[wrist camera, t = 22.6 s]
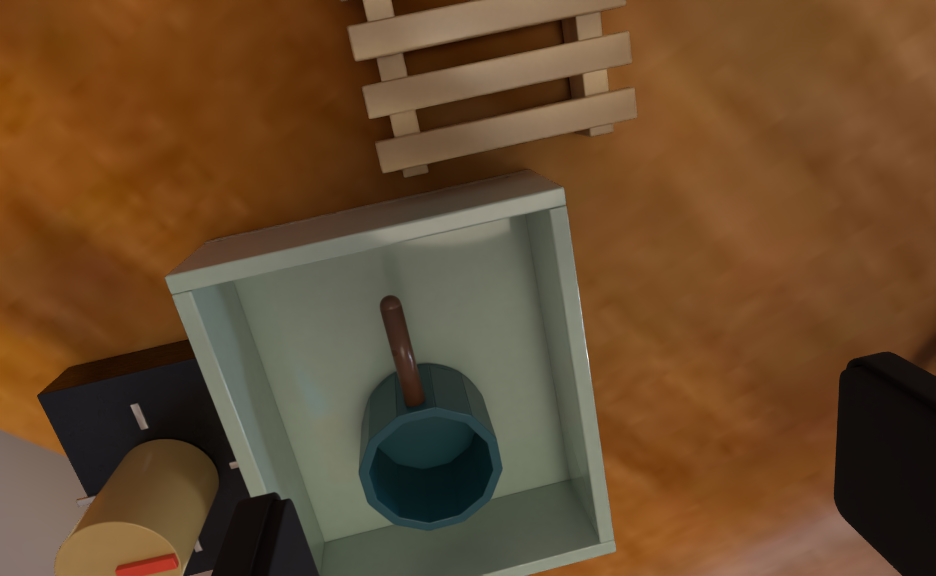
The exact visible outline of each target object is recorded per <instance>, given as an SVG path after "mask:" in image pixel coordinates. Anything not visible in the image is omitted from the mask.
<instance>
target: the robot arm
mask: <svg viewBox="0 0 936 576" xmlns="http://www.w3.org/2000/svg"><path fill="white" fill-rule="evenodd" d="M834 500H835V504H836V506H837V509H838V511H839V512H840V514H841V515H842V517H843V518H844V519H845V520H846V521H847V522H848V523H849V524H850V525H851V526H852V527H853V528H854V529H855V530H856V531H857V532H858V533H859V534H860V535H861V536H862V537H863V538H864V539H865V540H866V541H867V542H868V543H869V544H870V545H871V546H872V547H874V548H875V549H876V550H877V551H878V552H879V553H880V554H881V555H882V556H883V557H884V558H885V559H886V560H887V561H888V562H889V563H890V564H891V565H892V566H893V567H894V568H895V569H896V570H897V571H898V572H899V573H900V574H901V575H902V576H936V376H934V375H932V374H931V373H929V372H927V371H925V370H923V369H922V368H920V367H918V366H916V365H914V364H913V363H911V362H909V361H907V360H905V359H903V358H902V357H900V356H898V355H896V354H894V353H891V352H881V353H877V354H872V355H868V356H864V357H859V358H855V359H853V360H851V361H850V362H849V363H848V365H847V368H846V370H844V371H842V373H841V375H840V380H839V401H838V421H837V442H836V462H835V483H834ZM211 576H319V573H318V570H317V567H316V564H315V562H314V559H313V556H312V553H311V550H310V548H309V545H308V542H307V539H306V536H305V534H304V531H303V528H302V525H301V522H300V520H299V517H298V514H297V511H296V508H295V506H294V503H293V501H292V500H291V499H290V498H288V499H283V500H281V497H280V496H279V494H278V493H276V492H272V493H268V494H264V495H259V496H255V497H251V498H246V499H242V500H240V501H239V502H238V503H237V505H236V508H235V510H234V513H233V516H232V519H231V522H230V524H229V527H228V530H227V533H226V536H225V538H224V541H223V544H222V547H221V550H220V552H219V555H218V558H217V561H216V564H215V566H214V569H213V572H212V575H211Z"/></svg>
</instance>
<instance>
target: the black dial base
mask: <svg viewBox="0 0 936 576" xmlns="http://www.w3.org/2000/svg"><path fill="white" fill-rule="evenodd" d="M37 397H38V399H39V401H40V403H41V405H42V407H43V409H44V411H45V413H46V415H47V417H48V419H49V421H50V423H51V425H52V427H53V429H54V431H55V433H56V435H57V437H58V439H59V441H60V443H61V445H62V446H63V448H64V450H65V452H66V454H67V456H68V458H69V460H70V462H71V464H72V466H73V468H74V470H75V472H76V474H77V476H78V478H79V480H80V482H81V484H82V486H83V488H84V490H85V492H86V494H87V496H88V497H84V498H80V499H77V500H76V503H77V505H78V506H84V505H88V504H91V503H92V501H93V500H94V499H95V497H96V496H97V494H98V493H99V492H100V490H101V489H102V487H103V486H104V484H105V483H106V482H107V480H108V479H109V477H110V476H111V475H112V473H113V472H114V470H115V469H116V468H117V466H118V465H119V463H120V462H121V461H122V459H123V458H124V457H125V455H126V454H127V453H128V452H129V451H131V450H132V449H133V448H135V447H136V446H138V445H140V444H143V443H145V442H148V441H152V440H158V439H174V440H179V441H183V442H186V443H189V444H191V445H193V446H195V447H197V448H199V449H200V450H202V451H203V452H204V453H205V454H206V455H207V456H208V457H209V458H210V459H211V460H212V462H213V463H214V465H215V467H216V470H217V473H218V477H219V487H218V492H217V494H216V497H215V499H214V501H213V504H212V506H211V509H210V511H209V514H208V516H207V518H206V521H205V523H204V526H203V528H202V530H201V533H200V535H199V538H198V540H197V542H196V545H195V547H194V550H193V552H192V554H191V557H190V559H189V562H188V564H187V567H186V569H185V571H184V574H183V576H190V575H194V574H197V573H201V572H205V571H209V570H213V569H214V566H215V564H216V561H217V558H218V555H219V552H220V550H221V547H222V544H223V541H224V538H225V536H226V533H227V530H228V527H229V524H230V522H231V519H232V516H233V513H234V510H235V508H236V505H237V503H238V502H239V501H240V500H242V499H246V498H251V497H250V494H249V492H248V489H247V487H246V484H245V481H244V479H243V476H242V474H241V471H240V469H239V466H238V464H237V461H236V458H235V456H234V453H233V451H232V448H231V446H230V443H229V441H228V438H227V436H226V433H225V430H224V428H223V425H222V423H221V420H220V418H219V415H218V413H217V410H216V408H215V405H214V402H213V400H212V397H211V395H210V392H209V390H208V387H207V385H206V382H205V379H204V377H203V374H202V372H201V369H200V367H199V364H198V362H197V359H196V357H195V354H194V351H193V349H192V346H191V344H190V341H189V340H185V341H181V342H177V343H173V344H168V345H164V346H160V347H155V348H151V349H147V350H142V351H138V352H134V353H129V354H125V355H121V356H117V357H112V358H108V359H104V360H99V361H95V362H91V363H86V364H82V365H78V366H74V367H69V368H68V369H67V370H65V371H64V372H63V373H62V374H61V375H60V376H59V377H57V378H56V379H55V380H54V381H53V382H52V383H51V384H49V385H48V386H47V387H46V388H45V389H44V390H43V391H42V392H40V393H39V394H38V395H37Z"/></svg>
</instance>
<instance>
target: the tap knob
mask: <svg viewBox="0 0 936 576" xmlns="http://www.w3.org/2000/svg"><path fill="white" fill-rule="evenodd" d="M218 487H219V477H218V473H217V470H216V467H215V465H214V463H213V462H212V460H211V459H210V458H209V457H208V456H207V455H206V454H205V453H204V452H203V451H202V450H200V449H199V448H197V447H195V446H193V445H191V444H189V443H186V442H183V441H179V440H174V439H158V440H152V441H148V442H145V443H143V444H140V445H138V446H136V447H135V448H133V449H132V450H131V451H129V452H128V453H127V454H126V455H125V457H124V458H123V459H122V461H121V462H120V463H119V465H118V466H117V468H116V469H115V470H114V472H113V473H112V475H111V476H110V477H109V479H108V480H107V482H106V483H105V484H104V486H103V487H102V489H101V490H100V492H99V493H98V494H97V496H96V497H95V499H94V500H93V501H92V503H91V504H90V506H89V507H88V509H87V510H86V511H85V513H84V514H83V516H82V517H81V518H80V520H79V521H78V523H77V524H76V526H75V527H74V528H73V530H72V531H71V532H70V534H69V535H68V537H67V538H66V539H65V541H64V543H63V544H62V545H61V546H60V548H59V550H58V552H57V555H56V558H55V565H54V567H55V576H183V574H184V571H185V569H186V567H187V564H188V562H189V559H190V557H191V554H192V552H193V550H194V547H195V545H196V542H197V540H198V538H199V535H200V533H201V530H202V528H203V526H204V523H205V521H206V518H207V516H208V514H209V511H210V509H211V506H212V504H213V501H214V499H215V497H216V494H217V492H218Z"/></svg>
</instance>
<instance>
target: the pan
mask: <svg viewBox="0 0 936 576" xmlns="http://www.w3.org/2000/svg"><path fill="white" fill-rule="evenodd" d="M379 307H380V312H381V315H382V319H383V323H384V327H385V330H386V334H387V338H388V342H389V345H390V349H391V353H392V357H393V360H394V364H395V368H396V372H394V373H392V374H391V375H389V376H388V377H386V378H385V379H384V380H383V381H382V382H381V383H380V384H379V385H378V386H377V387H376V388H375V389H374V391H373V392H372V394H371V396H370V397H369V399H368V402H367V404H366V408H365V412H364V417H363V421H362V426H361V441H360V456H359V471H358V472H359V473H358V474H359V477H360V481H361V484H362V487H363V490H364V493H365V497H366V500H367V503H368V504H369V505H370V506H371V507H373V508H374V509H375V510H376V511H377V512H379V513H380V514H381V515H382V516H384V517H385V518H386V519H387V520H389V521H390V522H391V523H392V524H395V525H398V526H404V527H409V528H415V529H420V530H426V531H428V530H429V531H431V530H435V529H439V528H443V527H446V526H450V525H454V524H458V523H462V522H463V521H466V520H467V519H468V518H469V517H471V516H472V515H473V514H474V513H475V512H477V511H478V510H479V509H480V508H481V507H483V506H484V505H485V504H486V503H488V502H489V501H490V499H491V498H492V496H493V493H494V491H495V488H496V486H497V483H498V481H499V478H500V476H501V473H502V471H503V466H502V461H501V457H500V452H499V447H498V443H497V438H496V435H495V432H494V429H493V426H492V423H491V420H490V417H489V414H488V411H487V408H486V405H485V401H484V398H483V396H482V394H481V393H480V392H479V390H478V389H477V387H476V386H475V385H474V383H473V382H472V381H471V380H470V379H469V378H468V377H466V376H465V375H464V374H462V373H461V372H459V371H457V370H455V369H453V368H450V367H447V366H444V365H439V364H428V363H427V364H417V363H416V359H415V355H414V351H413V347H412V344H411V340H410V336H409V332H408V328H407V324H406V320H405V316H404V312H403V308H402V304H401V301H400V299H399V298H398V297H396V296H394V295H387V296H385V297H384V298H382V300H381V301H380V305H379Z"/></svg>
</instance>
